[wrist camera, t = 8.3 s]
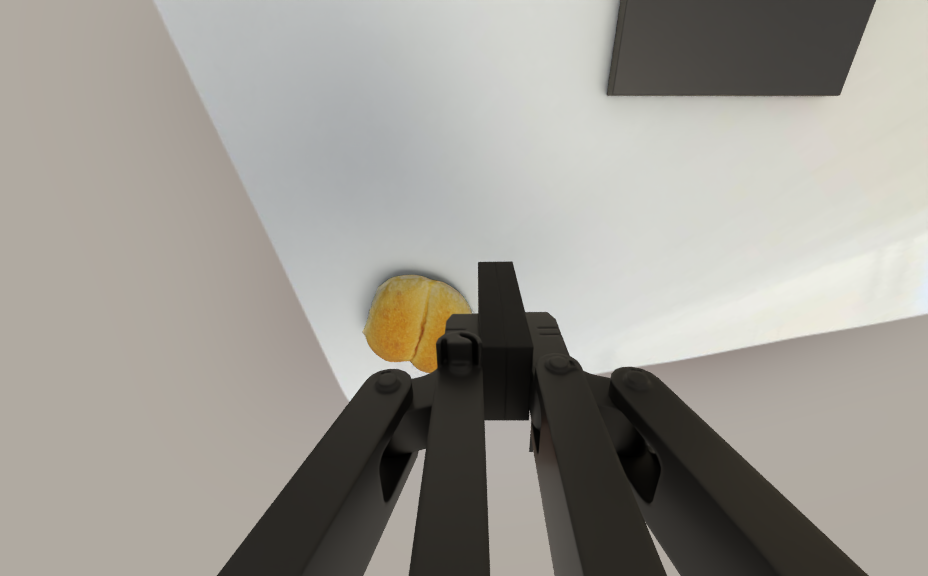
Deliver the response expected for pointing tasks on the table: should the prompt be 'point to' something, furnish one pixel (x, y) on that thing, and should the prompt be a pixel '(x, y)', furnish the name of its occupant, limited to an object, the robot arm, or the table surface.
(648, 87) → the scale
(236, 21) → the table surface
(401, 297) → the bread roll
